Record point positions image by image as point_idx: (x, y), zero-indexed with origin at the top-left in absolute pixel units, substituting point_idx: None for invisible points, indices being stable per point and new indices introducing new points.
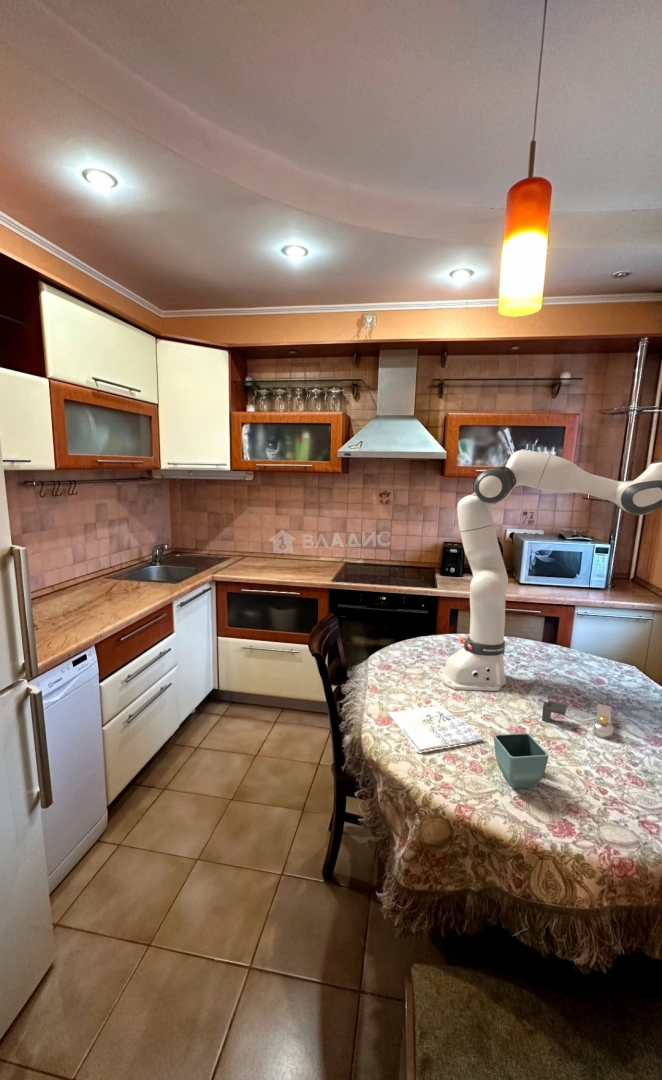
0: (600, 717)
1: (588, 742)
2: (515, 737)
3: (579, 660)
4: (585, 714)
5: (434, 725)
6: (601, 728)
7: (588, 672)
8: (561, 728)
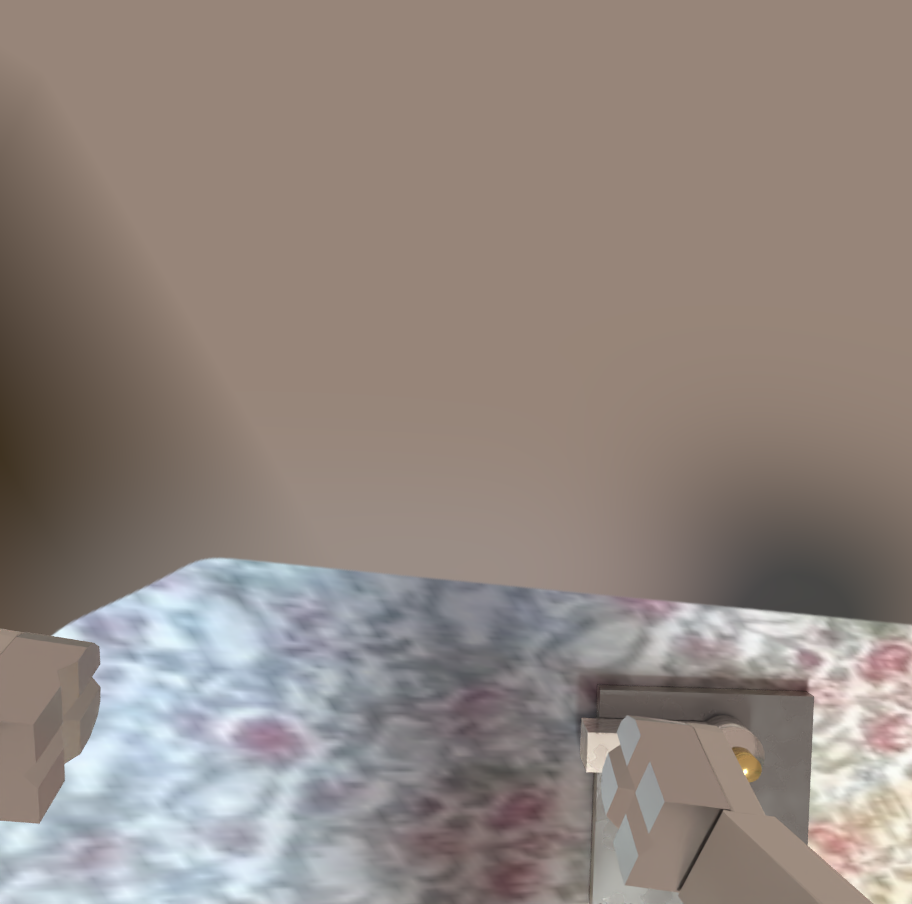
0: (752, 780)
1: None
2: None
3: (75, 808)
4: (577, 779)
5: None
6: (762, 762)
7: (194, 773)
8: None
